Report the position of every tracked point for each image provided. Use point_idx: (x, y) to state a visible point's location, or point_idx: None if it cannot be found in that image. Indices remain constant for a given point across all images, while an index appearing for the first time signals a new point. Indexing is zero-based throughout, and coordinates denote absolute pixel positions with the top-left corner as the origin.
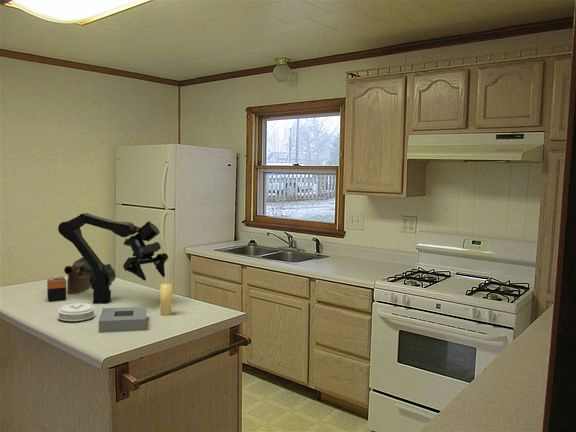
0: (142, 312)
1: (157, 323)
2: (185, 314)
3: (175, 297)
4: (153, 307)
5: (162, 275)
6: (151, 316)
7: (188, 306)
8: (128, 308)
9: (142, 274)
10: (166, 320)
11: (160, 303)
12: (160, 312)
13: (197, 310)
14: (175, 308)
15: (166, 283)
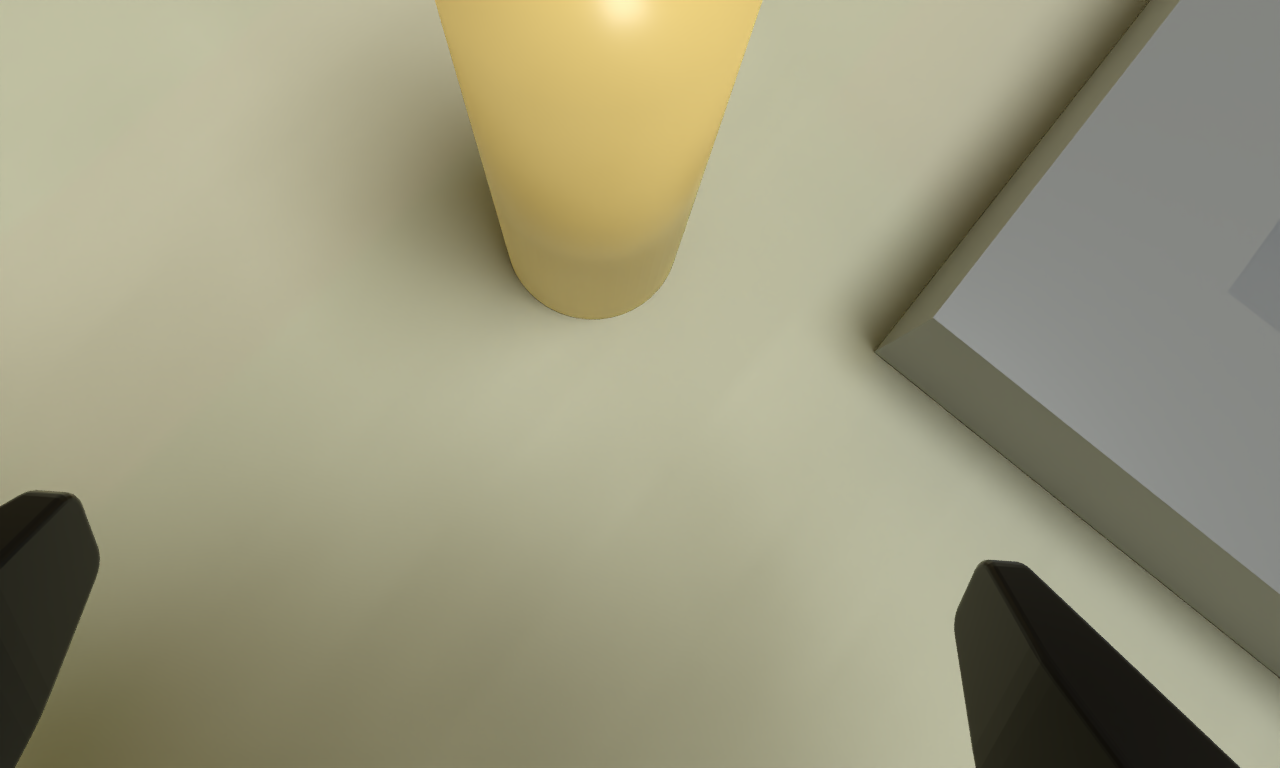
0: (1180, 103)
1: (954, 10)
2: (407, 16)
3: None
4: (468, 675)
5: (53, 624)
6: (813, 307)
7: (37, 284)
8: (1223, 455)
9: (1191, 722)
10: (788, 15)
11: (683, 225)
12: (672, 262)
13: (128, 24)
14: (268, 356)
15: (491, 51)
